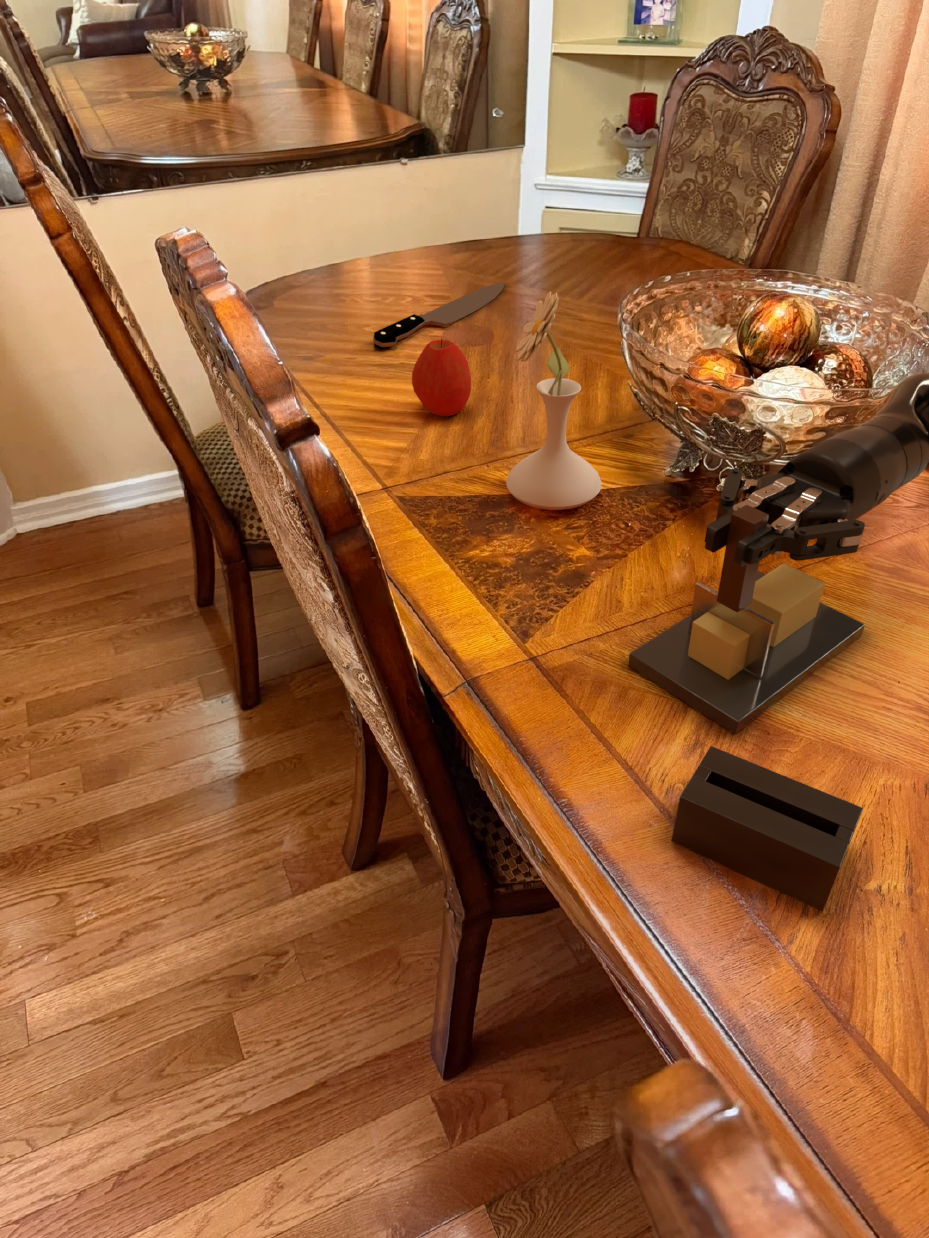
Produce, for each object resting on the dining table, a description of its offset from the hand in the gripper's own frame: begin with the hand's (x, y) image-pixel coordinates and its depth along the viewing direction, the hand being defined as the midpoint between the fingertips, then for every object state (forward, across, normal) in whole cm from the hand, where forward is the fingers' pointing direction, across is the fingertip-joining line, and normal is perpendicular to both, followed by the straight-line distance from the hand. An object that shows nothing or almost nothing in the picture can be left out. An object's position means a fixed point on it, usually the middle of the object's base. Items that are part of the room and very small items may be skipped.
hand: (724, 548), depth 71 cm
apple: (-20, -60, +15) cm, 65 cm away
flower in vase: (-14, -33, +15) cm, 38 cm away
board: (-7, 0, +15) cm, 16 cm away
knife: (-3, 0, +13) cm, 13 cm away
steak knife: (-45, -92, +15) cm, 103 cm away
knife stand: (+11, +14, +15) cm, 23 cm away
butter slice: (-2, 0, +13) cm, 13 cm away
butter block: (-11, 0, +13) cm, 17 cm away
